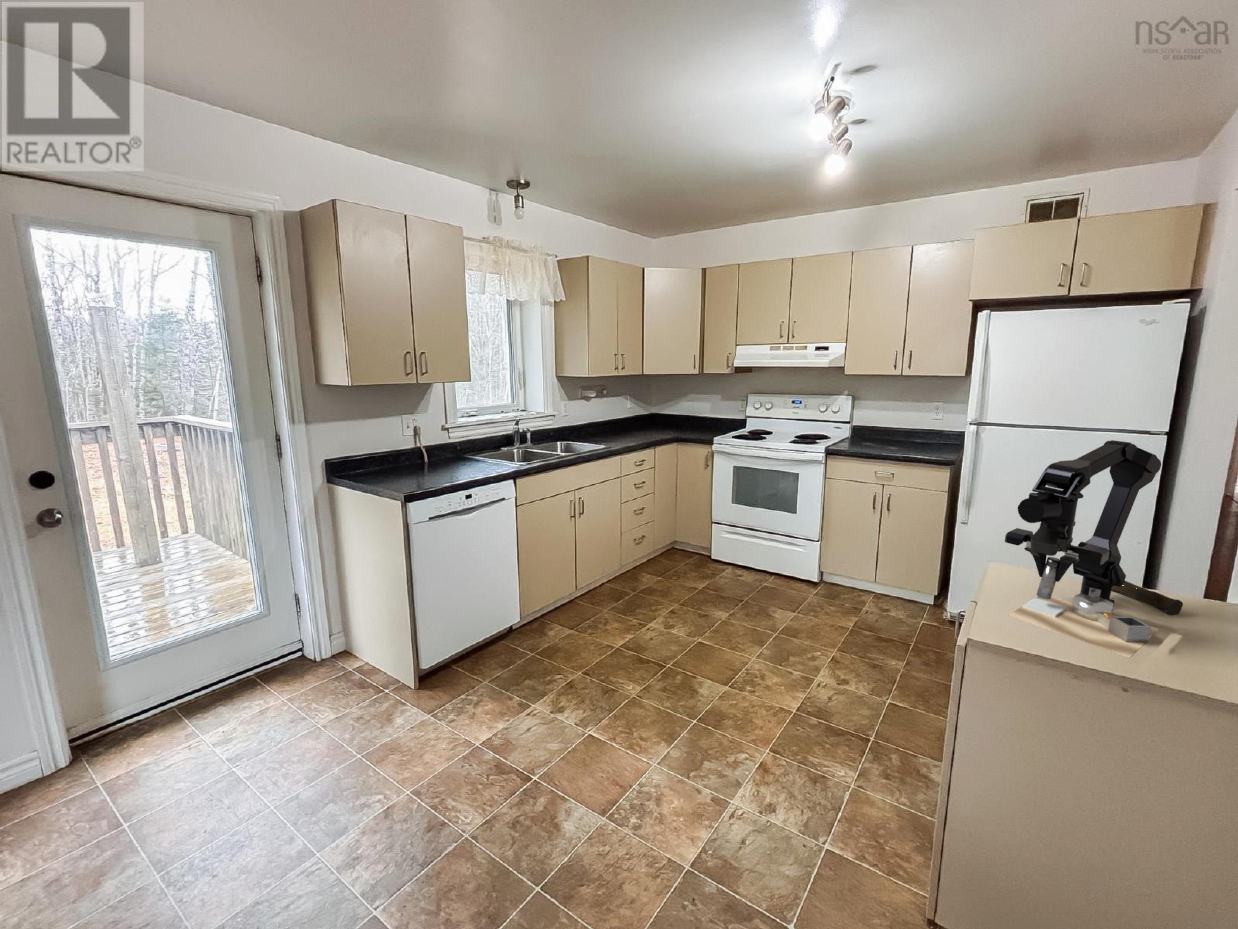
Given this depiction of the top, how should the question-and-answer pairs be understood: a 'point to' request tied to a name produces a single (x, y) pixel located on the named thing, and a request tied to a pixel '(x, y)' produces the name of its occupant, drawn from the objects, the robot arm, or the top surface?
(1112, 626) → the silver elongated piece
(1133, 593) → the hand tool
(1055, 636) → the top surface
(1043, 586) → the metal cylinder
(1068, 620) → the board
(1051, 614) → the coaster
